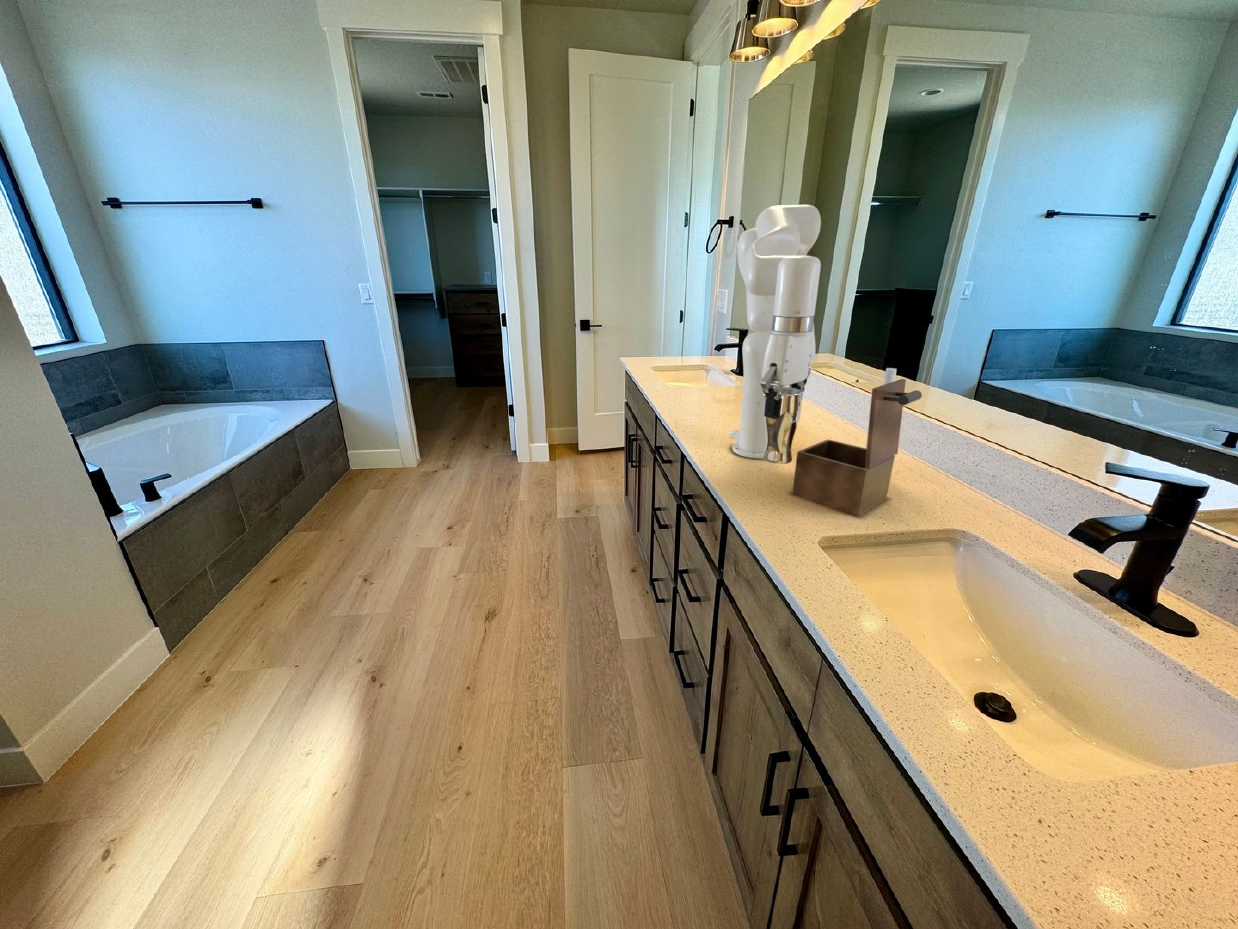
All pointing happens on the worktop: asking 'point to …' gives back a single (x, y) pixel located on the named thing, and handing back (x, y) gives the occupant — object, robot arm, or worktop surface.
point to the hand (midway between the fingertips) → (782, 413)
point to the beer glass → (783, 427)
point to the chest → (841, 477)
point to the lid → (886, 420)
